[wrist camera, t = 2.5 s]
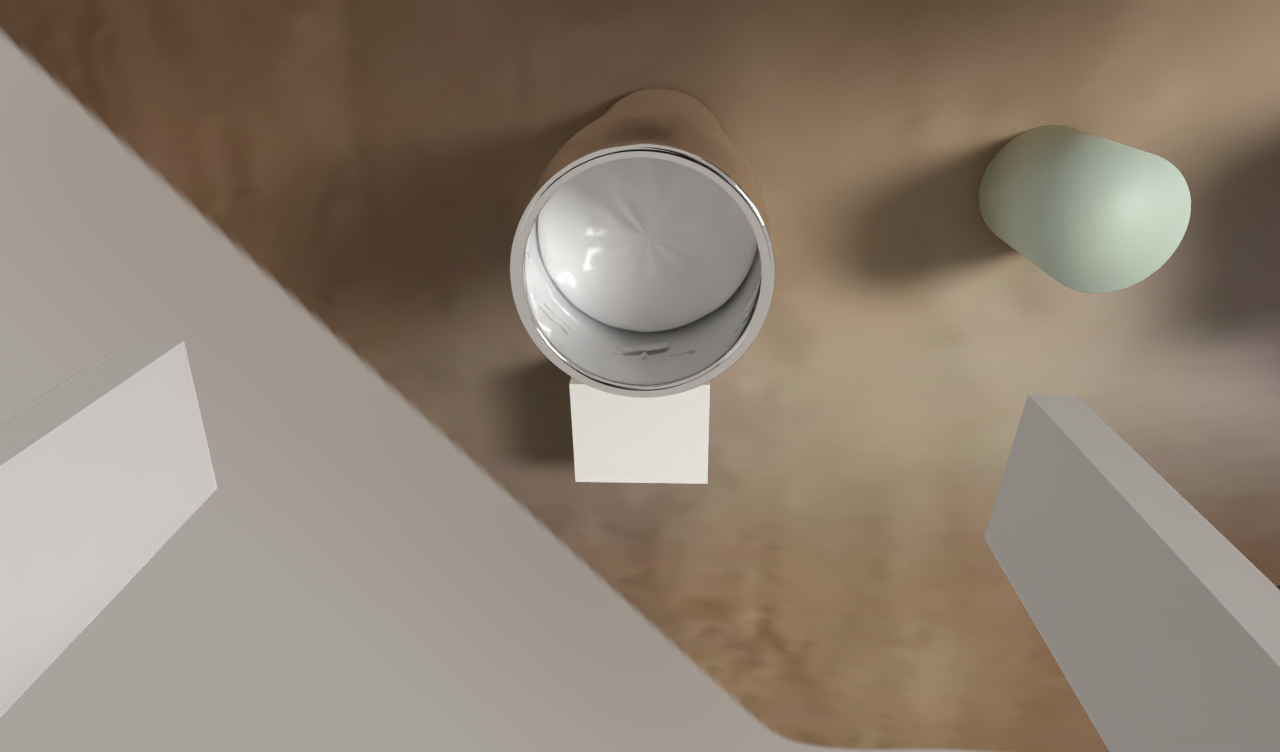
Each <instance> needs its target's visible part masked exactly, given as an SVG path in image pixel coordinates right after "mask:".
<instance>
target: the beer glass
mask: <svg viewBox="0 0 1280 752" xmlns="http://www.w3.org/2000/svg"><path fill="white" fill-rule="evenodd" d="M510 282H511V289H512V294H513V299H514V302H515V306H516V309H517V311H518V314H519V317H520V319H521V321H522V323H523V325H524V327H525V329H526V331H527V332H528V334H529V336H530V337H531V339H532V340H533V342H534V343H535V344H536V345H537V347H538V348H539V349H540V350H541V352H542V353H543V354H544V355H545V356H546V357H547V358H548V359H549V360H550V361H551V362H552V363H553V364H555V365H556V366H557V367H558V368H560V369H561V370H562V371H563V372H565V373H566V374H568V375H569V376H571V377H573V378H574V379H576V380H578V381H580V382H582V383H583V384H586V385H588V386H590V387H592V388H595V389H598V390H601V391H604V392H607V393H611V394H615V395H621V396H627V397H639V398H650V397H662V396H668V395H674V394H678V393H682V392H685V391H688V390H691V389H694V388H696V387H699V386H701V385H703V384H705V383H707V382H709V381H711V380H712V379H714V378H716V377H717V376H719V375H720V374H722V373H723V372H725V371H726V370H727V369H729V368H730V367H731V366H732V365H733V364H734V363H736V362H737V361H738V360H739V359H740V358H741V357H742V356H743V354H744V353H745V352H746V351H747V350H748V349H749V347H750V346H751V345H752V343H753V342H754V340H755V339H756V337H757V336H758V334H759V332H760V330H761V329H762V327H763V325H764V322H765V320H766V318H767V315H768V312H769V309H770V306H771V303H772V299H773V294H774V287H775V257H774V250H773V246H772V240H771V232H770V223H769V217H768V213H767V209H766V205H765V202H764V198H763V194H762V191H761V189H760V186H759V183H758V181H757V179H756V177H755V175H754V173H753V171H752V169H751V168H750V166H749V164H748V163H747V161H746V160H745V158H744V156H743V155H742V154H741V152H740V151H739V149H738V148H737V147H736V146H735V145H734V144H733V142H732V141H731V140H730V139H729V138H728V137H727V136H726V134H725V132H724V130H723V128H722V126H721V124H720V122H719V121H718V119H717V118H716V117H715V115H714V114H713V113H712V112H711V111H710V110H709V109H708V108H707V107H706V106H705V105H704V104H703V103H701V102H700V101H699V100H697V99H695V98H694V97H692V96H690V95H688V94H685V93H683V92H680V91H676V90H672V89H664V88H652V89H645V90H640V91H637V92H634V93H631V94H629V95H627V96H625V97H623V98H622V99H620V100H619V101H617V102H616V103H615V104H613V105H612V106H611V107H610V108H609V109H608V110H607V111H606V112H605V113H604V114H603V115H602V116H601V117H600V118H598V119H597V120H595V121H593V122H591V123H590V124H588V125H587V126H585V127H584V128H582V129H581V130H580V131H579V132H577V133H576V134H575V135H574V136H573V137H572V138H571V139H570V140H568V141H567V142H566V143H565V144H564V145H563V146H562V147H561V148H560V150H559V151H558V152H557V153H556V154H555V155H554V157H553V158H552V159H551V161H550V162H549V164H548V165H547V167H546V169H545V170H544V172H543V173H542V175H541V177H540V178H539V180H538V182H537V184H536V186H535V188H534V190H533V193H532V195H531V197H530V200H529V202H528V204H527V207H526V208H525V210H524V212H523V214H522V216H521V218H520V221H519V223H518V226H517V228H516V231H515V235H514V238H513V242H512V248H511V254H510Z"/></svg>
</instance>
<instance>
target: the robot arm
mask: <svg viewBox="0 0 1280 752" xmlns="http://www.w3.org/2000/svg"><path fill="white" fill-rule="evenodd" d="M216 489H217V484H216V479H215V475H214V470H213V466H212V462H211V457H210V453H209V449H208V444H207V440H206V435H205V431H204V427H203V422H202V418H201V413H200V409H199V405H198V401H197V396H196V392H195V387H194V383H193V378H192V374H191V370H190V365H189V361H188V356H187V352H186V348H185V343H184V341H180V340H164V339H148V338H134V339H132V340H131V341H129V342H127V343H126V344H124V345H123V346H121V347H119V348H118V349H116V350H115V351H113V352H111V353H110V354H108V355H106V356H105V357H103V358H102V359H100V360H98V361H97V362H95V363H93V364H92V365H90V366H89V367H87V368H85V369H84V370H82V371H80V372H79V373H77V374H75V375H74V376H72V377H71V378H69V379H67V380H66V381H64V382H62V383H61V384H59V385H58V386H56V387H54V388H53V389H51V390H49V391H48V392H46V393H45V394H43V395H41V396H40V397H38V398H36V399H35V400H33V401H32V402H30V403H28V404H27V405H25V406H24V407H22V408H20V409H19V410H17V411H15V412H14V413H12V414H10V415H9V416H7V417H5V418H4V419H2V420H1V421H0V717H1V716H2V715H3V714H4V713H5V712H6V711H7V710H8V709H9V708H10V707H11V706H12V705H13V704H14V703H15V701H16V700H17V699H18V698H19V697H20V696H21V695H22V694H23V693H24V692H25V691H26V690H27V689H28V688H29V687H30V686H31V685H32V683H33V682H34V681H35V680H36V679H37V678H38V677H39V676H40V675H41V674H42V673H43V672H44V671H45V670H46V669H47V668H48V667H49V666H50V664H51V663H52V662H53V661H54V660H55V659H56V658H57V657H58V656H59V655H60V654H61V653H62V652H63V651H64V650H65V649H66V648H67V647H68V646H69V644H70V643H71V642H72V641H73V640H74V639H75V638H76V637H77V636H78V635H79V634H80V633H81V632H82V630H84V629H85V628H86V626H87V625H88V624H89V623H90V622H91V621H92V620H93V619H94V618H95V617H96V616H97V615H98V614H99V613H100V612H101V611H102V610H103V609H104V607H105V606H106V605H107V604H108V603H109V602H110V601H111V600H112V599H113V598H114V596H116V595H117V594H118V593H119V592H120V591H121V590H122V588H123V587H124V586H125V585H126V584H127V583H128V582H129V581H130V580H131V579H132V578H133V577H134V576H135V575H136V574H137V573H138V572H139V571H140V569H141V568H142V567H143V566H144V565H145V564H146V563H147V562H148V561H149V560H150V559H151V558H152V557H153V556H154V555H155V554H156V553H157V551H158V550H159V549H160V548H161V547H162V546H163V545H164V544H165V543H166V542H167V541H168V540H169V539H170V538H171V537H172V536H173V534H175V532H176V531H177V530H178V529H179V528H180V527H181V526H182V525H183V524H184V523H185V522H186V521H187V520H188V519H189V518H190V516H192V514H193V513H194V512H195V511H196V510H197V509H198V508H199V507H200V506H201V505H202V504H203V503H204V502H205V501H206V500H207V499H208V498H209V497H210V496H211V494H212V493H213V492H214V491H215V490H216ZM984 539H985V541H986V542H987V544H988V546H989V547H990V549H991V551H992V552H993V554H994V556H995V558H996V559H997V561H998V563H999V564H1000V566H1001V568H1002V570H1003V571H1004V573H1005V575H1006V576H1007V578H1008V580H1009V581H1010V583H1011V585H1012V587H1013V588H1014V590H1015V592H1016V593H1017V595H1018V597H1019V598H1020V600H1021V602H1022V604H1023V605H1024V607H1025V609H1026V610H1027V612H1028V614H1029V616H1030V617H1031V619H1032V621H1033V622H1034V624H1035V626H1036V627H1037V629H1038V631H1039V633H1040V634H1041V636H1042V638H1043V639H1044V641H1045V643H1046V644H1047V646H1048V648H1049V650H1050V651H1051V653H1052V655H1053V656H1054V658H1055V660H1056V662H1057V663H1058V665H1059V667H1060V668H1061V670H1062V672H1063V673H1064V675H1065V677H1066V679H1067V680H1068V682H1069V684H1070V685H1071V687H1072V689H1073V691H1074V692H1075V694H1076V696H1077V697H1078V699H1079V701H1080V702H1081V704H1082V706H1083V708H1084V709H1085V711H1086V713H1087V714H1088V716H1089V718H1090V719H1091V721H1092V723H1093V725H1094V726H1095V728H1096V730H1097V731H1098V733H1099V735H1100V737H1101V738H1102V740H1103V742H1104V743H1105V745H1106V747H1107V748H1108V750H1109V752H1280V586H1275V585H1274V584H1273V583H1272V582H1271V581H1270V580H1269V579H1268V578H1267V577H1265V576H1264V575H1263V574H1262V573H1261V572H1260V571H1259V570H1258V569H1257V568H1256V567H1255V566H1254V565H1253V564H1252V563H1251V562H1250V561H1249V560H1248V559H1247V558H1246V557H1245V556H1244V555H1243V554H1242V553H1240V552H1239V551H1238V550H1237V549H1236V548H1235V547H1234V546H1233V545H1232V544H1231V543H1230V542H1229V541H1228V540H1227V539H1226V538H1225V537H1224V536H1223V535H1222V534H1221V533H1220V532H1219V531H1218V530H1217V529H1216V528H1214V527H1213V526H1212V525H1211V524H1210V523H1209V522H1208V521H1207V520H1206V519H1205V518H1204V517H1203V516H1202V515H1201V514H1200V513H1199V512H1198V511H1197V510H1196V509H1195V508H1194V507H1193V506H1192V505H1191V504H1189V503H1188V502H1187V501H1186V500H1185V499H1184V498H1183V497H1182V496H1181V495H1180V494H1179V493H1178V492H1177V491H1176V490H1175V489H1174V488H1173V487H1172V486H1171V485H1170V484H1169V483H1168V482H1167V481H1166V480H1164V479H1163V478H1162V477H1161V476H1160V475H1159V474H1158V473H1157V472H1156V471H1155V470H1154V469H1153V468H1152V467H1151V466H1150V465H1149V464H1148V463H1147V462H1146V461H1145V460H1144V459H1143V458H1142V457H1141V456H1139V455H1138V454H1137V453H1136V452H1135V451H1134V450H1133V449H1132V448H1131V447H1130V446H1129V445H1128V444H1127V443H1126V442H1125V441H1124V440H1123V439H1122V438H1121V437H1120V436H1119V435H1118V434H1117V433H1116V432H1114V431H1113V430H1112V429H1111V428H1110V427H1109V426H1108V425H1107V424H1106V423H1105V422H1104V421H1103V420H1102V419H1101V418H1100V417H1099V416H1098V415H1097V414H1096V413H1095V412H1094V411H1093V410H1092V409H1091V408H1089V407H1088V406H1087V405H1086V404H1085V403H1084V402H1083V401H1082V400H1081V399H1080V398H1079V397H1073V396H1057V395H1041V394H1028V396H1027V400H1026V403H1025V406H1024V409H1023V413H1022V416H1021V419H1020V423H1019V426H1018V429H1017V432H1016V436H1015V439H1014V442H1013V445H1012V449H1011V452H1010V455H1009V458H1008V462H1007V465H1006V468H1005V471H1004V475H1003V478H1002V481H1001V484H1000V488H999V491H998V494H997V497H996V501H995V504H994V507H993V510H992V514H991V517H990V520H989V523H988V527H987V530H986V533H985V536H984Z"/></svg>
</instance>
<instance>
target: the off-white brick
mask: <svg viewBox="0 0 1280 752" xmlns="http://www.w3.org/2000/svg"><path fill="white" fill-rule="evenodd" d="M569 387H570V403H571V418H572V433H573V449H574V464H575V480H576V482H630V483H702V484H707V478H708V439H709V401H710V381H709V382H707V383H705V384H703V385H701V386H699V387H696V388H694V389H691V390H688V391H685V392H682V393H678V394H674V395H668V396H662V397H650V398H639V397H627V396H621V395H615V394H611V393H607V392H604V391H601V390H598V389H595V388H592V387H590V386H588V385H586V384H583V383H582V382H580V381H578V380H576V379H574V378H573V377H571V380H570V383H569Z"/></svg>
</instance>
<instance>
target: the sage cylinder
mask: <svg viewBox="0 0 1280 752" xmlns="http://www.w3.org/2000/svg"><path fill="white" fill-rule="evenodd" d="M979 208H980V212H981V215H982V218H983V220H984V222H985V224H986V225H987V227H988V228H989V229H990V230H991V232H993V233H994V234H995V235H996V236H997V237H999V238H1000V239H1001V240H1003V241H1004V242H1005V243H1007V244H1008V245H1009V246H1011V247H1012V248H1013V249H1015V250H1016V251H1017V252H1019V253H1020V254H1021V255H1023V256H1024V257H1025V258H1027V259H1028V260H1030V261H1031V262H1032V263H1034V264H1035V265H1036V266H1038V267H1039V268H1040V269H1042V270H1043V271H1044V272H1046V273H1047V274H1048V275H1050V276H1051V277H1052V278H1054V279H1055V280H1056V281H1058V282H1059V283H1061V284H1062V285H1064V286H1066V287H1068V288H1070V289H1073V290H1076V291H1080V292H1085V293H1107V292H1113V291H1117V290H1121V289H1124V288H1127V287H1130V286H1132V285H1134V284H1136V283H1138V282H1140V281H1142V280H1143V279H1145V278H1147V277H1148V276H1150V275H1151V274H1152V273H1154V272H1155V271H1156V270H1158V269H1159V268H1160V267H1161V266H1162V265H1163V264H1164V263H1165V262H1166V261H1167V260H1168V259H1169V258H1170V257H1171V255H1172V254H1173V253H1174V251H1175V250H1176V249H1177V247H1178V246H1179V244H1180V242H1181V240H1182V239H1183V236H1184V234H1185V232H1186V230H1187V226H1188V223H1189V219H1190V213H1191V197H1190V192H1189V188H1188V185H1187V183H1186V181H1185V179H1184V177H1183V175H1182V174H1181V173H1180V171H1179V170H1178V169H1177V168H1176V167H1175V166H1174V165H1173V164H1172V163H1170V162H1169V161H1167V160H1166V159H1164V158H1162V157H1159V156H1157V155H1154V154H1151V153H1148V152H1145V151H1142V150H1139V149H1136V148H1133V147H1130V146H1127V145H1123V144H1120V143H1117V142H1114V141H1111V140H1108V139H1105V138H1102V137H1099V136H1096V135H1092V134H1089V133H1086V132H1083V131H1080V130H1077V129H1074V128H1070V127H1067V126H1060V125H1049V126H1042V127H1038V128H1034V129H1031V130H1029V131H1026V132H1024V133H1022V134H1020V135H1018V136H1016V137H1015V138H1013V139H1012V140H1010V141H1009V142H1008V143H1007V144H1005V145H1004V146H1003V147H1002V148H1001V149H1000V150H999V151H998V152H997V153H996V155H995V156H994V157H993V158H992V160H991V161H990V163H989V165H988V166H987V168H986V170H985V172H984V174H983V177H982V180H981V183H980V188H979Z"/></svg>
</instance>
